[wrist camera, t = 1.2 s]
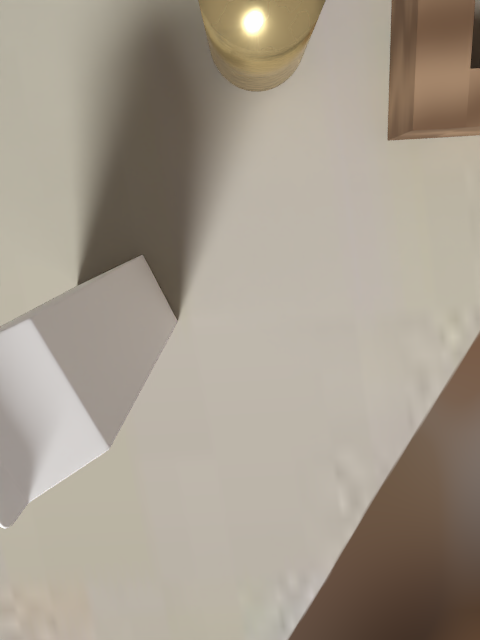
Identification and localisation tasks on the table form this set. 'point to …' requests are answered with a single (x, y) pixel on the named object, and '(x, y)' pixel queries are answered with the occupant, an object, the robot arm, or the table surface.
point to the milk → (75, 377)
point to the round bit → (258, 38)
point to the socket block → (432, 70)
